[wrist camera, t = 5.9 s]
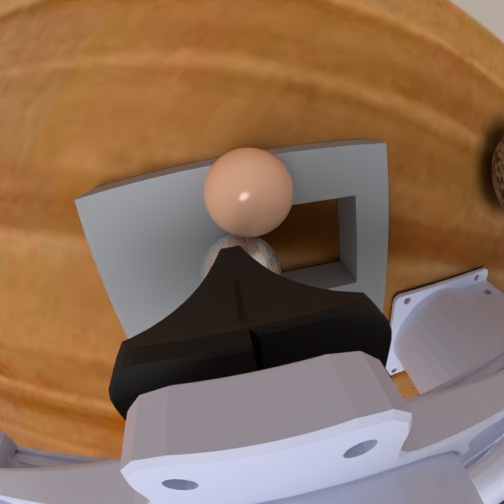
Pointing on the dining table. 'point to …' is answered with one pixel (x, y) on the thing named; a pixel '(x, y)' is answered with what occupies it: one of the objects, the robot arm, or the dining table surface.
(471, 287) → the robot arm
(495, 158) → the decorative egg
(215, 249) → the steel ball
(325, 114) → the dining table surface
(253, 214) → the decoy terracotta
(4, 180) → the dining table surface
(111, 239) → the grey tray with hole
